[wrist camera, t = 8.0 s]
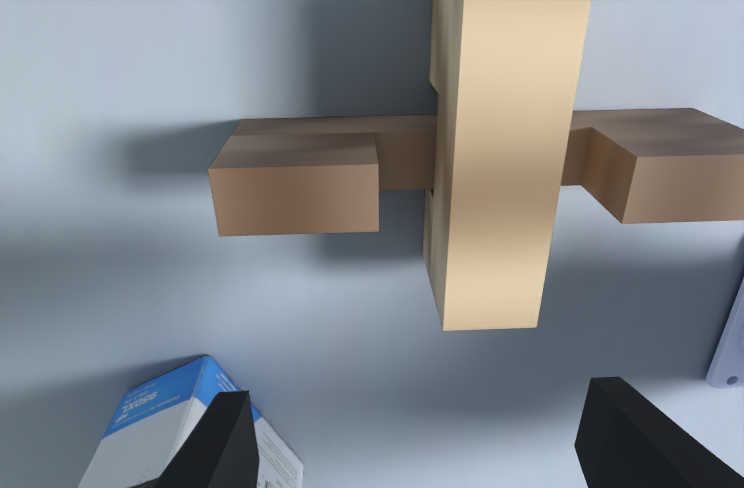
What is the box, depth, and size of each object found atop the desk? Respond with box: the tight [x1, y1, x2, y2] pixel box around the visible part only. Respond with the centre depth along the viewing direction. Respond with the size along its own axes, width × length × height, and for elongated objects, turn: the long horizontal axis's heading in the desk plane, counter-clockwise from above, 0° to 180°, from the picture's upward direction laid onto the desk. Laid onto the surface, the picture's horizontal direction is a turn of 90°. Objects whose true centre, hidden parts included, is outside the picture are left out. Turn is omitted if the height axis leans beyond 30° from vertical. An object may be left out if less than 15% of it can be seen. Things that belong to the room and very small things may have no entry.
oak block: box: [423, 0, 591, 331], centre depth 17 cm, size 10×3×5 cm, turn 1°
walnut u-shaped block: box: [208, 108, 744, 236], centre depth 17 cm, size 16×2×5 cm, turn 91°
